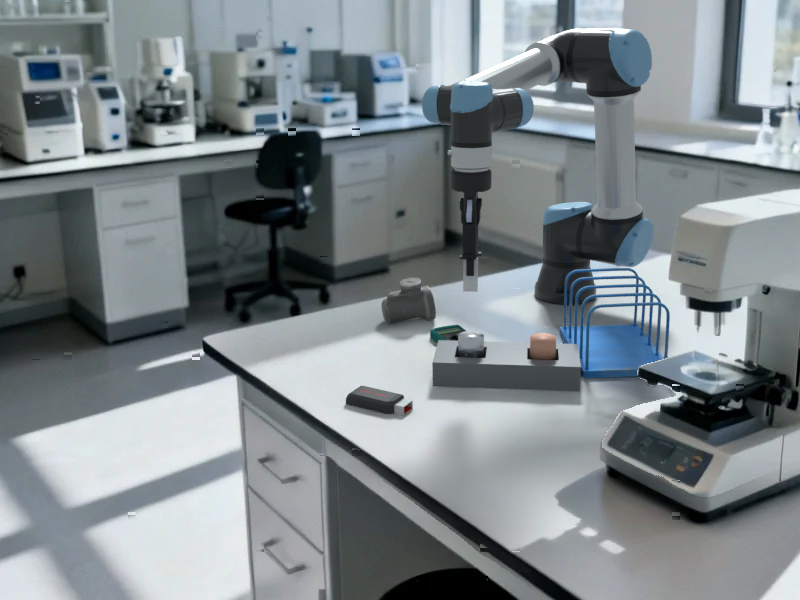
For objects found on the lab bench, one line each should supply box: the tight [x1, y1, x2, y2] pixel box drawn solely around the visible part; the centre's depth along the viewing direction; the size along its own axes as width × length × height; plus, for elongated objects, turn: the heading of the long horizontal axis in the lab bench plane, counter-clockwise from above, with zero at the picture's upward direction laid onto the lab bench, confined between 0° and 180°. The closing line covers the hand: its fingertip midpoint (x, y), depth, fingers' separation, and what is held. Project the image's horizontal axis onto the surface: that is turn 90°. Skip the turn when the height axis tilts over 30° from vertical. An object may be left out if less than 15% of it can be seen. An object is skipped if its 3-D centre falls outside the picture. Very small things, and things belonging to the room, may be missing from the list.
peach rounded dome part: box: [529, 332, 557, 360], centre depth 179 cm, size 5×5×4 cm
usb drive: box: [345, 385, 414, 416], centre depth 171 cm, size 5×12×3 cm, turn 59°
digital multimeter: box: [429, 324, 467, 344], centre depth 198 cm, size 7×15×3 cm, turn 22°
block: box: [431, 340, 582, 392], centre depth 182 cm, size 28×12×5 cm, turn 82°
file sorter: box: [559, 267, 671, 379], centre depth 190 cm, size 25×17×15 cm
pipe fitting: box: [381, 276, 437, 325], centre depth 213 cm, size 12×8×10 cm
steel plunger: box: [458, 330, 485, 358], centre depth 181 cm, size 5×5×4 cm
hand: (470, 290), depth 178 cm, fingers closed
